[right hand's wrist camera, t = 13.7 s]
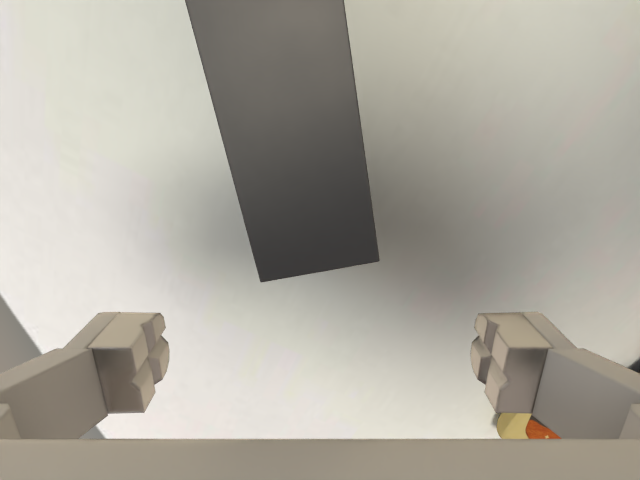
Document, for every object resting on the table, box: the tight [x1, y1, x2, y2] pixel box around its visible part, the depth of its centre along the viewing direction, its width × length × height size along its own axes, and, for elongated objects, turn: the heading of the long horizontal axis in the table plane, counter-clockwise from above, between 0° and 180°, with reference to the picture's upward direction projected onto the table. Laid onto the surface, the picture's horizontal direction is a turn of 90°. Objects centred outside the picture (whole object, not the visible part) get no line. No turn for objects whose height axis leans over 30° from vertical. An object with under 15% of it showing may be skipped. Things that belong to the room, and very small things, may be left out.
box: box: [185, 0, 379, 282], centre depth 21 cm, size 25×6×9 cm, turn 10°
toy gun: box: [497, 371, 640, 439], centre depth 35 cm, size 3×19×10 cm
